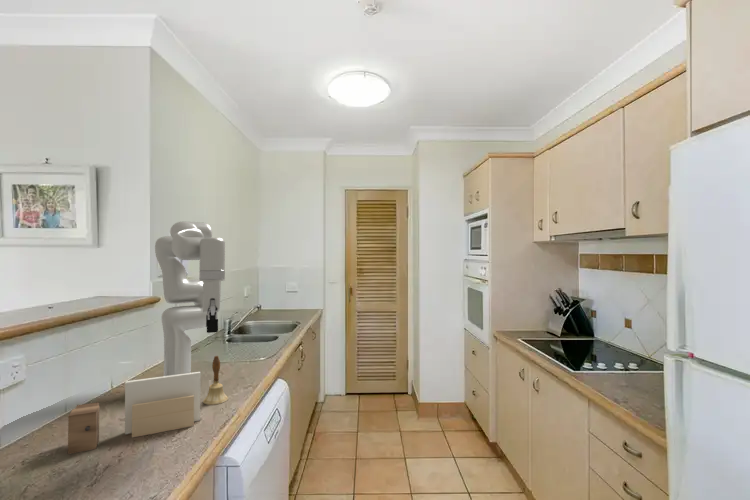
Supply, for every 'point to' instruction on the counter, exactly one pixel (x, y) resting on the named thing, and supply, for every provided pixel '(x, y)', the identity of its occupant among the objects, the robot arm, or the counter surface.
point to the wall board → (162, 403)
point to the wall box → (83, 428)
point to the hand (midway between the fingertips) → (211, 329)
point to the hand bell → (215, 387)
